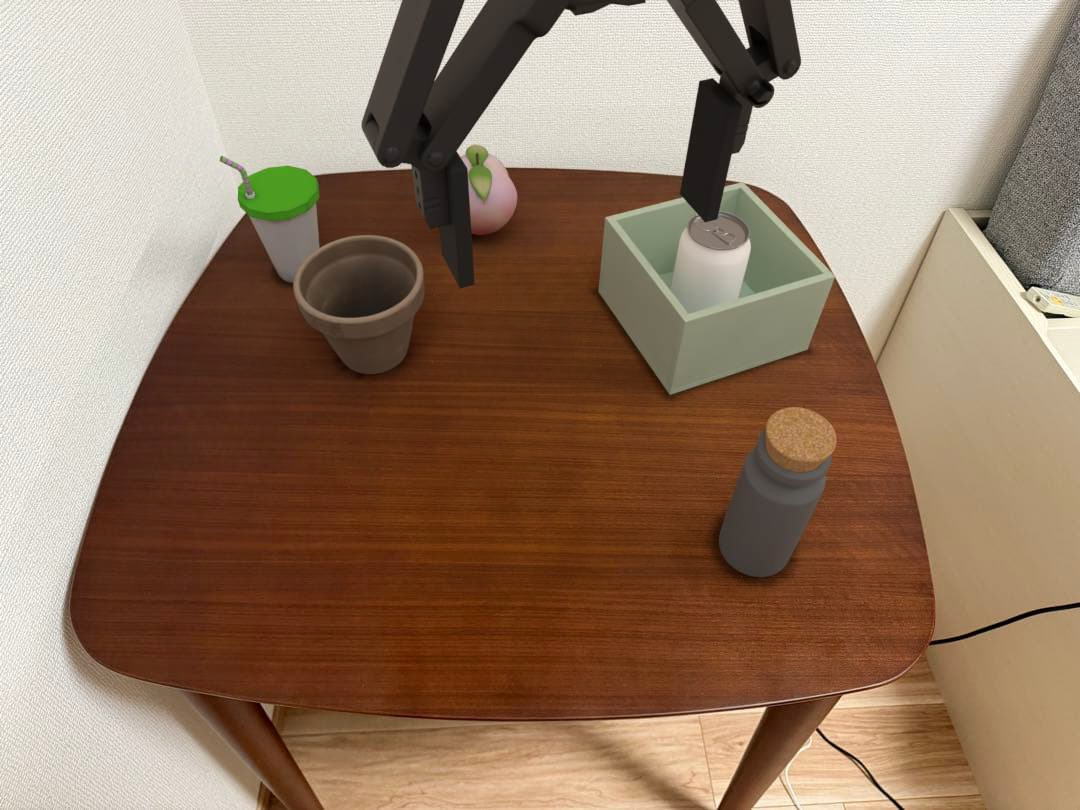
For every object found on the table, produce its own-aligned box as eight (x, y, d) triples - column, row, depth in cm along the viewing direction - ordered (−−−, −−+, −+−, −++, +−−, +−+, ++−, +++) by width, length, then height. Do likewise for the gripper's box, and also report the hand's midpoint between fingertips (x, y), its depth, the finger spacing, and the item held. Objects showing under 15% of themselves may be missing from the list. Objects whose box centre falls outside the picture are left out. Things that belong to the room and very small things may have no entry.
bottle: (703, 543, 67) (740, 429, 55) (748, 503, 69) (793, 387, 58) (759, 592, 64) (811, 483, 53) (804, 549, 67) (863, 436, 55)
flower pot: (386, 415, 75) (371, 337, 67) (290, 369, 79) (264, 290, 71) (455, 337, 82) (448, 259, 74) (363, 298, 85) (347, 219, 77)
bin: (807, 349, 81) (835, 276, 74) (669, 395, 77) (685, 321, 70) (725, 255, 90) (743, 181, 83) (598, 291, 86) (605, 217, 79)
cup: (344, 249, 90) (318, 126, 79) (326, 297, 85) (294, 173, 74) (275, 243, 91) (239, 120, 79) (252, 291, 86) (210, 167, 74)
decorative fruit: (433, 212, 95) (425, 135, 87) (501, 200, 96) (499, 123, 89) (452, 264, 89) (445, 186, 81) (524, 250, 90) (524, 172, 83)
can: (692, 294, 85) (712, 198, 76) (742, 325, 82) (769, 229, 73) (651, 324, 82) (667, 228, 73) (702, 358, 79) (725, 262, 70)
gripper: (868, -344, 31) (750, 147, 47) (195, -302, 25) (325, 251, 41) (1012, -305, 27) (827, 222, 43) (239, -240, 20) (365, 352, 37)
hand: (583, 237), depth 42 cm, fingers open, 13 cm apart
